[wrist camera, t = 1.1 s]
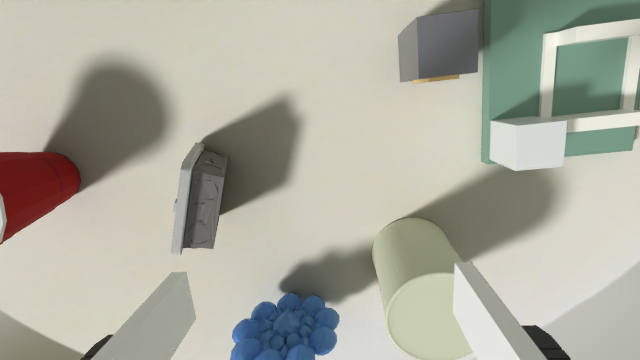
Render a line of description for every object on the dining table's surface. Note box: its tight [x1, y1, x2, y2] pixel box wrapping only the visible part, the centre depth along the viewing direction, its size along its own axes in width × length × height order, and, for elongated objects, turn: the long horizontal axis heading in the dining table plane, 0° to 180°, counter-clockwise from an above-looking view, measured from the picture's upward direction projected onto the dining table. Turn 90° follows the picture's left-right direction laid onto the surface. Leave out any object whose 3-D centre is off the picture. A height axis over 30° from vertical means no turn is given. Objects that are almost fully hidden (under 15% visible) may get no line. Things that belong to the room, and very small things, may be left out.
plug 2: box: [490, 116, 567, 171], centre depth 30 cm, size 4×4×5 cm
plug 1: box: [398, 9, 479, 84], centre depth 28 cm, size 5×4×8 cm
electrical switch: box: [171, 143, 229, 255], centre depth 33 cm, size 9×5×9 cm, turn 167°
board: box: [481, 0, 640, 164], centre depth 29 cm, size 17×14×4 cm
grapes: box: [230, 293, 339, 360], centre depth 35 cm, size 12×7×12 cm, turn 90°
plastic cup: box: [0, 152, 80, 245], centre depth 32 cm, size 11×11×12 cm
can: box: [372, 218, 473, 360], centre depth 32 cm, size 9×9×12 cm
